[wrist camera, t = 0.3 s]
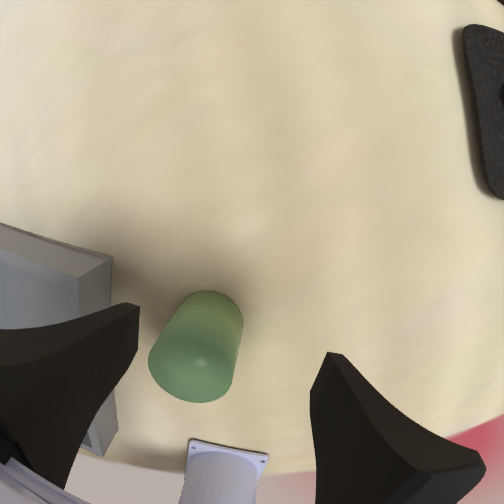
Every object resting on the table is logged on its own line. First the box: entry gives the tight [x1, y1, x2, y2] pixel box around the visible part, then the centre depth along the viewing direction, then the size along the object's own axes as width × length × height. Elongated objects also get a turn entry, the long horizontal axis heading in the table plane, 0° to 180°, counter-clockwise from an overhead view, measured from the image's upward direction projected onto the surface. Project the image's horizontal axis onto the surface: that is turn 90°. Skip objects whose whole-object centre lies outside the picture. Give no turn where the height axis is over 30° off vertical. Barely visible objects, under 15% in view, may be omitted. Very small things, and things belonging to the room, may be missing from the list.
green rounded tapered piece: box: [148, 291, 243, 403], centre depth 18 cm, size 5×5×6 cm
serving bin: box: [0, 223, 118, 457], centre depth 21 cm, size 20×16×4 cm
